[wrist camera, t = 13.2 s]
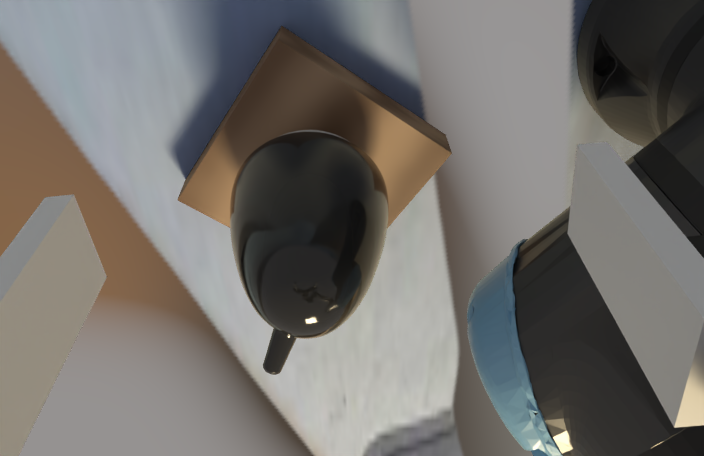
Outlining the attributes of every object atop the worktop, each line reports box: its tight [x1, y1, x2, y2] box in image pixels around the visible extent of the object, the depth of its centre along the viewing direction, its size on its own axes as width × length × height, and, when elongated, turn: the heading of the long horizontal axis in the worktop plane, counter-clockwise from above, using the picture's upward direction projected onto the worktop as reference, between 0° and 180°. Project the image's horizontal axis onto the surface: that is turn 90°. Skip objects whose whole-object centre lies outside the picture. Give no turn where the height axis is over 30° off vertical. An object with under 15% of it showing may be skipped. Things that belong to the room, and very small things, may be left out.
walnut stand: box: [178, 26, 452, 228], centre depth 46 cm, size 14×14×3 cm
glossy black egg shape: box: [230, 130, 389, 375], centre depth 38 cm, size 10×10×15 cm
